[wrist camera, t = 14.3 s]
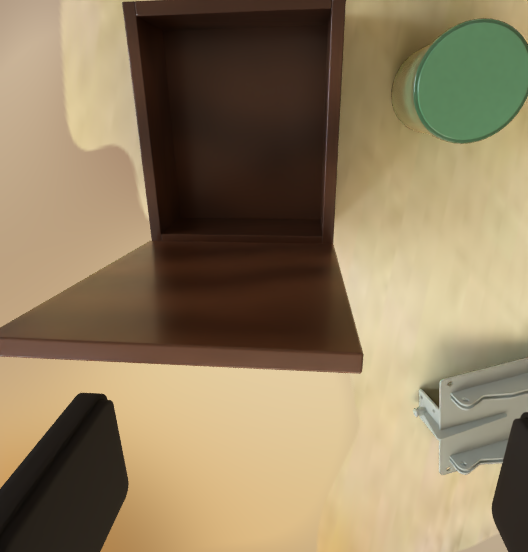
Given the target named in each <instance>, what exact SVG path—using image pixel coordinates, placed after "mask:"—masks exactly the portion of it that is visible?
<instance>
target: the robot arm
mask: <svg viewBox="0 0 528 552" xmlns="http://www.w3.org/2000/svg"><path fill="white" fill-rule="evenodd" d="M127 491H128V477H127V472H126V467H125V461H124V456H123V451H122V446H121V441H120V436H119V431H118V426H117V420H116V415H115V410H114V405H113V402H112V401H111V400H107V397H106V396H105V395H104V394H96V393H80V394H78V395H77V396H76V397H75V398H74V399H73V401H72V402H71V403H70V404H69V405H68V407H67V408H66V409H65V410H64V412H63V413H62V414H61V415H60V416H59V418H58V419H57V420H56V422H55V423H54V424H53V425H52V426H51V427H50V429H49V430H48V431H47V432H46V434H45V435H44V436H43V437H42V439H41V440H40V441H39V442H38V443H37V445H36V446H35V447H34V448H33V450H32V451H31V452H30V453H29V454H28V456H27V457H26V458H25V459H24V461H23V462H22V463H21V464H20V465H19V467H18V468H17V469H16V470H15V471H14V473H13V474H12V475H11V476H10V478H9V479H8V480H7V481H6V482H5V484H4V485H3V486H2V487H1V489H0V552H100V551H101V549H102V547H103V544H104V542H105V540H106V538H107V536H108V534H109V532H110V529H111V527H112V525H113V523H114V521H115V519H116V517H117V515H118V512H119V510H120V508H121V506H122V504H123V502H124V500H125V498H126V495H127ZM492 514H493V519H494V522H495V524H496V526H497V528H498V531H499V533H500V535H501V537H502V539H503V541H504V543H505V546H506V547H507V550H508V552H528V412H524V413H523V414H522V415H521V417H520V418H517V419H515V420H514V421H513V423H512V427H511V431H510V435H509V439H508V443H507V447H506V451H505V455H504V459H503V463H502V467H501V471H500V475H499V479H498V483H497V486H496V490H495V494H494V498H493V502H492Z"/></svg>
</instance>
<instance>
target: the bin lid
mask: <svg viewBox="0 0 528 552" xmlns="http://www.w3.org/2000/svg"><path fill="white" fill-rule="evenodd" d="M0 356H2V357H23V358H44V359H65V360H86V361H107V362H128V363H149V364H170V365H192V366H212V367H233V368H254V369H255V368H256V369H275V370H297V371H317V372H338V373H359V374H360V373H361V372H362V366H363V351H362V348H361V344H360V340H359V337H358V333H357V329H356V326H355V322H354V318H353V315H352V311H351V307H350V304H349V300H348V296H347V293H346V289H345V285H344V282H343V278H342V274H341V271H340V267H339V263H338V260H337V256H336V252H335V249H334V245H333V244H304V243H244V242H183V241H149V242H147V243H146V244H144V245H142V246H140V247H139V248H137V249H135V250H134V251H132V252H130V253H128V254H127V255H125V256H123V257H121V258H120V259H118V260H116V261H115V262H113V263H111V264H109V265H108V266H106V267H104V268H102V269H101V270H99V271H97V272H96V273H94V274H92V275H90V276H89V277H87V278H85V279H84V280H82V281H80V282H78V283H77V284H75V285H73V286H71V287H70V288H68V289H66V290H64V291H63V292H61V293H60V294H58V295H56V296H54V297H52V298H51V299H49V300H47V301H45V302H44V303H42V304H40V305H39V306H37V307H35V308H33V309H32V310H30V311H28V312H26V313H25V314H23V315H21V316H20V317H18V318H16V319H14V320H13V321H11V322H10V323H8V324H6V325H4V326H2V327H1V328H0Z"/></svg>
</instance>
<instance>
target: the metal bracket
mask: <svg viewBox="0 0 528 552" xmlns="http://www.w3.org/2000/svg"><path fill="white" fill-rule="evenodd" d="M450 381H452V383H451V384H450V385H447V384H448V382H450ZM413 412H414V415H415V416H416V417H418V416H420V418H421V420H422V421H423V422H424V423H425V424H426V426H427V427H428V428H429V429H430V431H431V432H432V433H433V434H434V436H435V437H436V438H437V439H438V440H439V473H440V474H441V475H445V474H449V473H452V472H456V471H458V472H459V473H461V474H464V475H466V474H469V473H470V472H472V471H473V470H474V469H475V468H476V467H478V466H479V465H480V464H498V463H503V459H504V455H505V451H506V447H507V443H508V439H509V435H510V431H511V427H512V423H513V421H514V420H515V419H517V418H520V417H521V415H522V414H523V413H524V412H528V357H526V358H522V359H518V360H515V361H511V362H507V363H503V364H499V365H495V366H491V367H487V368H483V369H479V370H476V371H472V372H468V373H464V374H460V375H456V376H452V377H448V378H444V379H442V380H441V381H440V383H439V407H438V406H437V405H436V404H435V403H434V402H433V401H432V400H431V399H430V397H429V396H428V395H427V394H426V393H425V392H424V391H423V390H422V389H419V407H418V408H417V409H415V408H414V409H413ZM448 467H450V468H449V469H448V470H446V469H447V468H448Z"/></svg>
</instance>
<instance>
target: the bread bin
mask: <svg viewBox="0 0 528 552" xmlns="http://www.w3.org/2000/svg"><path fill="white" fill-rule="evenodd" d="M345 4H346V0H155V1H135V2H134V1H133V2H122V5H123V13H124V21H125V29H126V37H127V45H128V53H129V61H130V69H131V77H132V85H133V93H134V101H135V109H136V117H137V125H138V133H139V141H140V149H141V157H142V165H143V173H144V181H145V189H146V197H147V205H148V213H149V221H150V229H151V237H152V241H183V242H244V243H304V244H333V235H334V216H335V197H336V178H337V158H338V139H339V120H340V101H341V81H342V62H343V43H344V24H345Z"/></svg>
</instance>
